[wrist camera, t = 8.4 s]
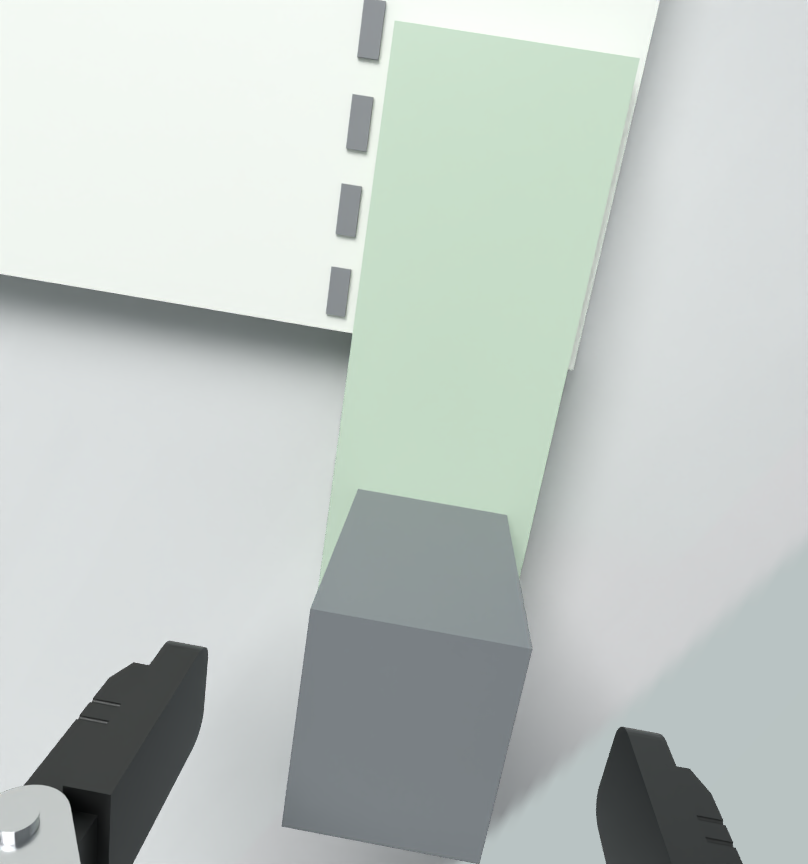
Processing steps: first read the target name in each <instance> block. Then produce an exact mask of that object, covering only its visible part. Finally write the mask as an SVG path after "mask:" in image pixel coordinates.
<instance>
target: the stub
mask: <svg viewBox="0 0 808 864" xmlns="http://www.w3.org/2000/svg"><path fill="white" fill-rule="evenodd" d="M639 60H640V58H635V57H629V56H622V55H616V54H609V53H603V52H596V51H590V50H583V49H577V48H570V47H564V46H557V45H551V44H544V43H538V42H532V41H525V40H519V39H512V38H506V37H499V36H493V35H486V34H480V33H473V32H467V31H460V30H454V29H447V28H441V27H435V26H428V25H422V24H415V23H409V22H402V21H396V20H395V22H394V29H393V37H392V44H391V51H390V59H389V66H388V74H387V81H386V89H385V96H384V103H383V111H382V118H381V126H380V133H379V141H378V148H377V155H376V163H375V170H374V178H373V185H372V193H371V200H370V207H369V215H368V222H367V230H366V237H365V245H364V252H363V260H362V267H361V274H360V282H359V289H358V297H357V304H356V312H355V319H354V326H353V334H352V341H351V349H350V356H349V364H348V371H347V378H346V386H345V393H344V401H343V408H342V416H341V423H340V430H339V438H338V445H337V453H336V460H335V468H334V475H333V482H332V490H331V497H330V505H329V512H328V520H327V527H326V534H325V542H324V549H323V557H322V564H321V572H320V579H319V587H318V591H317V594H316V596H315V599H314V601H313V604H312V606H311V609H310V616H309V624H308V631H307V639H306V646H305V654H304V661H303V669H302V677H301V684H300V692H299V699H298V707H297V714H296V722H295V730H294V737H293V745H292V752H291V760H290V767H289V775H288V783H287V790H286V798H285V805H284V813H283V820H282V827H287V828H293V829H298V830H303V831H308V832H314V833H319V834H324V835H329V836H335V837H340V838H345V839H350V840H356V841H361V842H366V843H371V844H377V845H382V846H387V847H392V848H398V849H403V850H408V851H413V852H419V853H424V854H429V855H434V856H439V857H445V858H450V859H455V860H460V861H466V862H471V863H476V864H479V863H480V859H481V855H482V851H483V847H484V843H485V839H486V835H487V831H488V827H489V823H490V819H491V815H492V811H493V807H494V802H495V798H496V794H497V790H498V786H499V782H500V778H501V774H502V770H503V766H504V762H505V758H506V754H507V750H508V746H509V742H510V738H511V733H512V729H513V725H514V721H515V717H516V713H517V709H518V705H519V701H520V697H521V693H522V689H523V685H524V681H525V677H526V673H527V669H528V665H529V660H530V656H531V652H532V645H531V639H530V634H529V629H528V624H527V618H526V613H525V608H524V603H523V597H522V592H521V587H520V581H519V578H520V574H521V570H522V565H523V561H524V557H525V552H526V548H527V544H528V539H529V535H530V531H531V526H532V522H533V518H534V514H535V509H536V505H537V501H538V496H539V492H540V488H541V483H542V479H543V475H544V470H545V466H546V462H547V457H548V453H549V449H550V444H551V440H552V436H553V432H554V427H555V423H556V419H557V414H558V410H559V406H560V401H561V397H562V393H563V388H564V384H565V380H566V375H567V371H568V367H569V362H570V358H571V354H572V350H573V345H574V341H575V337H576V332H577V328H578V324H579V319H580V315H581V311H582V306H583V302H584V298H585V293H586V289H587V285H588V280H589V276H590V272H591V268H592V263H593V259H594V255H595V250H596V246H597V242H598V237H599V233H600V229H601V224H602V220H603V216H604V211H605V207H606V203H607V198H608V194H609V190H610V186H611V181H612V177H613V173H614V168H615V164H616V160H617V155H618V151H619V147H620V142H621V138H622V134H623V129H624V125H625V121H626V117H627V112H628V108H629V104H630V99H631V95H632V91H633V86H634V82H635V78H636V73H637V69H638V65H639Z"/></svg>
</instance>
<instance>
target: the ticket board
mask: <svg viewBox="0 0 808 864" xmlns="http://www.w3.org/2000/svg"><path fill="white" fill-rule="evenodd" d="M659 2H660V0H0V274H4V275H10V276H15V277H21V278H27V279H33V280H39V281H45V282H51V283H57V284H63V285H69V286H75V287H81V288H87V289H93V290H99V291H104V292H110V293H116V294H122V295H128V296H134V297H140V298H146V299H152V300H158V301H164V302H170V303H176V304H182V305H188V306H193V307H199V308H205V309H211V310H217V311H223V312H229V313H235V314H241V315H247V316H253V317H259V318H265V319H271V320H277V321H282V322H288V323H294V324H300V325H306V326H312V327H318V328H324V329H330V330H336V331H342V332H348V333H353V326H354V319H355V312H356V304H357V297H358V289H359V282H360V274H361V267H362V260H363V252H364V245H365V237H366V230H367V222H368V215H369V207H370V200H371V193H372V185H373V178H374V170H375V163H376V155H377V148H378V141H379V133H380V126H381V118H382V111H383V103H384V96H385V89H386V81H387V74H388V66H389V59H390V51H391V44H392V37H393V29H394V22H395V20H396V21H402V22H409V23H415V24H422V25H428V26H435V27H441V28H447V29H454V30H460V31H467V32H473V33H480V34H486V35H493V36H499V37H506V38H512V39H519V40H525V41H532V42H538V43H544V44H551V45H557V46H564V47H570V48H577V49H583V50H590V51H596V52H603V53H609V54H616V55H622V56H629V57H635V58H640V60H639V65H638V69H637V73H636V78H635V82H634V86H633V91H632V95H631V99H630V104H629V108H628V112H627V117H626V121H625V125H624V129H623V134H622V138H621V142H620V147H619V151H618V155H617V160H616V164H615V168H614V173H613V177H612V181H611V186H610V190H609V194H608V198H607V203H606V207H605V211H604V216H603V220H602V224H601V229H600V233H599V237H598V242H597V246H596V250H595V255H594V259H593V263H592V268H591V272H590V276H589V280H588V285H587V289H586V293H585V298H584V302H583V306H582V311H581V315H580V319H579V324H578V328H577V332H576V337H575V341H574V345H573V350H572V354H571V358H570V362H569V367H568V370H573V369H574V365H575V361H576V356H577V352H578V348H579V344H580V339H581V335H582V331H583V327H584V322H585V318H586V314H587V310H588V305H589V301H590V297H591V292H592V288H593V284H594V280H595V275H596V271H597V267H598V263H599V258H600V254H601V250H602V245H603V241H604V237H605V233H606V228H607V224H608V220H609V216H610V211H611V207H612V203H613V198H614V194H615V190H616V186H617V181H618V177H619V173H620V169H621V164H622V160H623V156H624V152H625V147H626V143H627V139H628V134H629V130H630V126H631V122H632V117H633V113H634V109H635V105H636V100H637V96H638V92H639V87H640V83H641V79H642V75H643V70H644V66H645V62H646V58H647V53H648V49H649V45H650V40H651V36H652V32H653V28H654V23H655V19H656V15H657V11H658V6H659Z"/></svg>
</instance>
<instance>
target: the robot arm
mask: <svg viewBox="0 0 808 864" xmlns="http://www.w3.org/2000/svg"><path fill="white" fill-rule="evenodd" d="M207 663H208V650H207V648H206V647H201V646H195V645H190V644H185V643H179V642H174V641H168V642H166V643H165V644H164V646H163V647H162V648H161V650H160V651H159V653H158V654H157V655H156V657H155V658H154V660H153V661H152V662H151V664H150V665H144V664H139V663H134V662H133V663H132V664H130V665H129V666H127V667H126V668H124V669H122V670H121V671H119V672H118V673H116V674H115V675H113V676H111V677H110V678H109V679H108V680H107V681H106V683H105V684H104V685H103V686H102V688H101V689H100V690H99V691H98V693H97V694H96V695H95V696H94V698H93V701H92V703H91V702H90V703H89V704H88V705H87V707H86V708H85V709H84V710H83V712H82V713H81V714H80V717H79V719H78V720H77V719H76V720H75V722H74V723H73V724H72V725H71V727H70V728H69V729H68V731H67V732H66V733H65V734H64V736H63V737H62V738H61V739H60V741H59V742H58V743H57V744H56V746H55V747H54V748H53V749H52V751H51V752H50V753H49V755H48V756H47V757H46V758H45V760H44V761H43V762H42V763H41V765H40V766H39V767H38V768H37V770H36V771H35V772H34V773H33V775H32V776H31V777H30V779H29V780H28V781H27V782H26V783H25V785H24V786H20V787H16V788H12V789H9V790H6V791H4V792H2V793H0V864H133V862H134V860H135V858H136V856H137V855H138V853H139V851H140V849H141V847H142V845H143V843H144V841H145V839H146V837H147V835H148V833H149V831H150V830H151V828H152V826H153V824H154V822H155V820H156V818H157V816H158V814H159V812H160V810H161V808H162V806H163V805H164V803H165V801H166V799H167V797H168V795H169V793H170V791H171V789H172V787H173V785H174V783H175V781H176V780H177V778H178V776H179V774H180V772H181V770H182V768H183V766H184V764H185V762H186V760H187V758H188V756H189V755H190V753H191V751H192V749H193V747H194V745H195V742H196V740H197V737H198V734H199V731H200V727H201V723H202V719H203V712H204V700H205V688H206V675H207ZM596 816H597V825H598V830H599V834H600V839H601V843H602V847H603V852H604V855H605V860H606V864H743V863H742V861H741V860H740V857H739V854H738V852H737V850H736V848H733V841H732V839H731V837H730V835H729V832H728V830H727V828H726V826H725V825H723V819H722V817H721V814H720V812H719V810H718V808H717V806H716V804H715V801H714V799H713V797H712V795H711V793H710V792H709V791H708V790H707V788H706V787H705V786H704V785H703V784H702V783H701V781H700V780H699V779H698V778H697V777H696V776H695V774H694V773H693V772H692V771H691V770H690V769H688V768H682V767H677V766H676V764H675V762H674V759H673V757H672V755H671V752H670V750H669V747H668V745H667V742H666V740H665V738H664V737H663V736H662V735H661V734H658V733H653V732H647V731H642V730H637V729H631V728H626V727H620V728H619V729H618V730H617V732H616V734H615V737H614V741H613V744H612V747H611V751H610V753H609V757H608V760H607V763H606V766H605V770H604V773H603V776H602V779H601V783H600V786H599V789H598V794H597V803H596Z"/></svg>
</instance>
